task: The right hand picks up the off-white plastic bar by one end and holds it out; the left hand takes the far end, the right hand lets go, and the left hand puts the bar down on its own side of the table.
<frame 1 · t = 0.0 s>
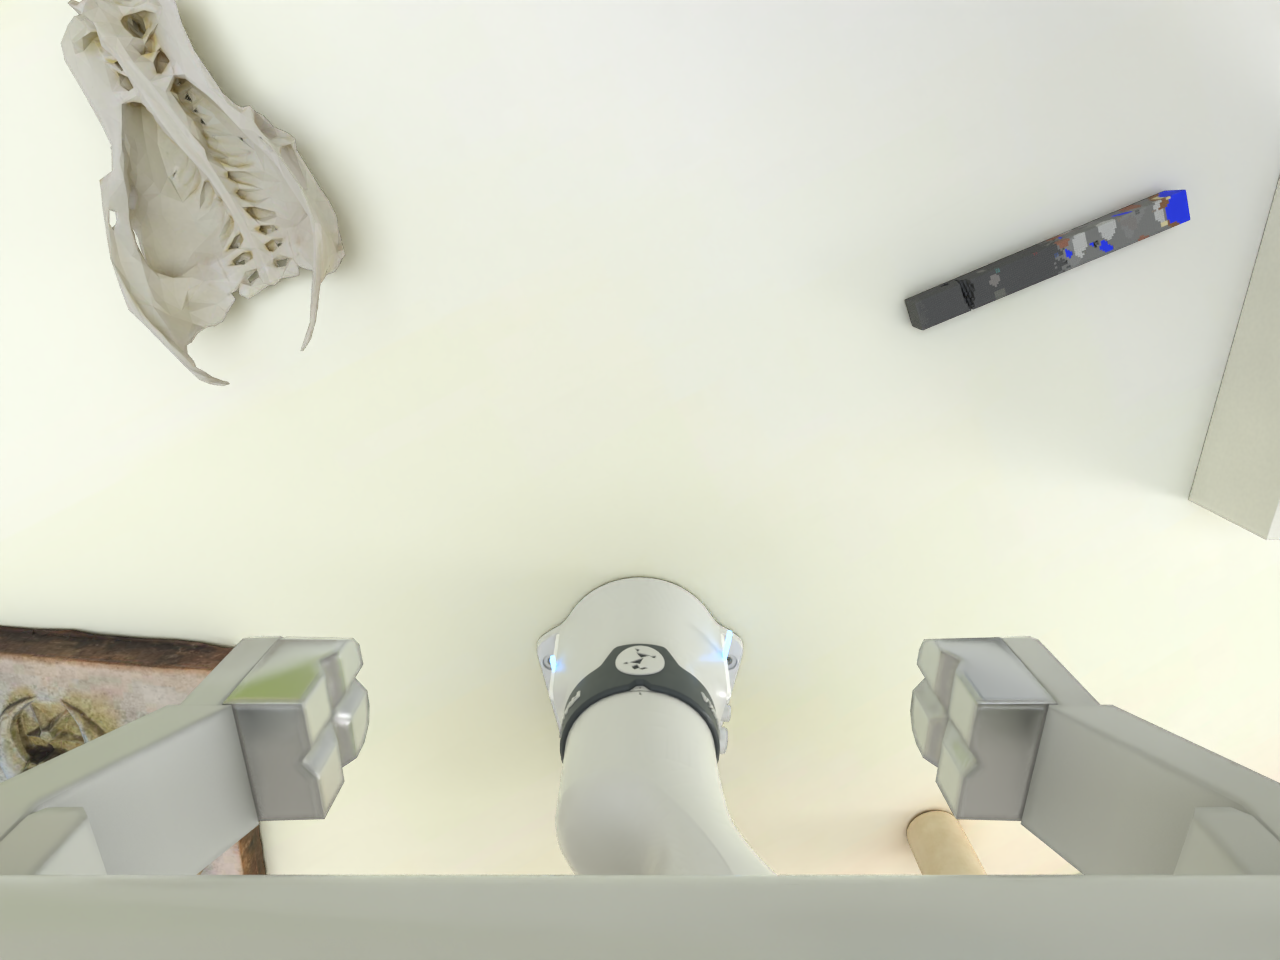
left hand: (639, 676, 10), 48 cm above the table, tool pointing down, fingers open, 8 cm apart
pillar: (1035, 259, 54), on the table
anatomical model: (231, 188, 53), on the table
plaque: (100, 759, 71), on the table
bar: (1263, 344, 57), on the table
candle: (932, 829, 74), on the table
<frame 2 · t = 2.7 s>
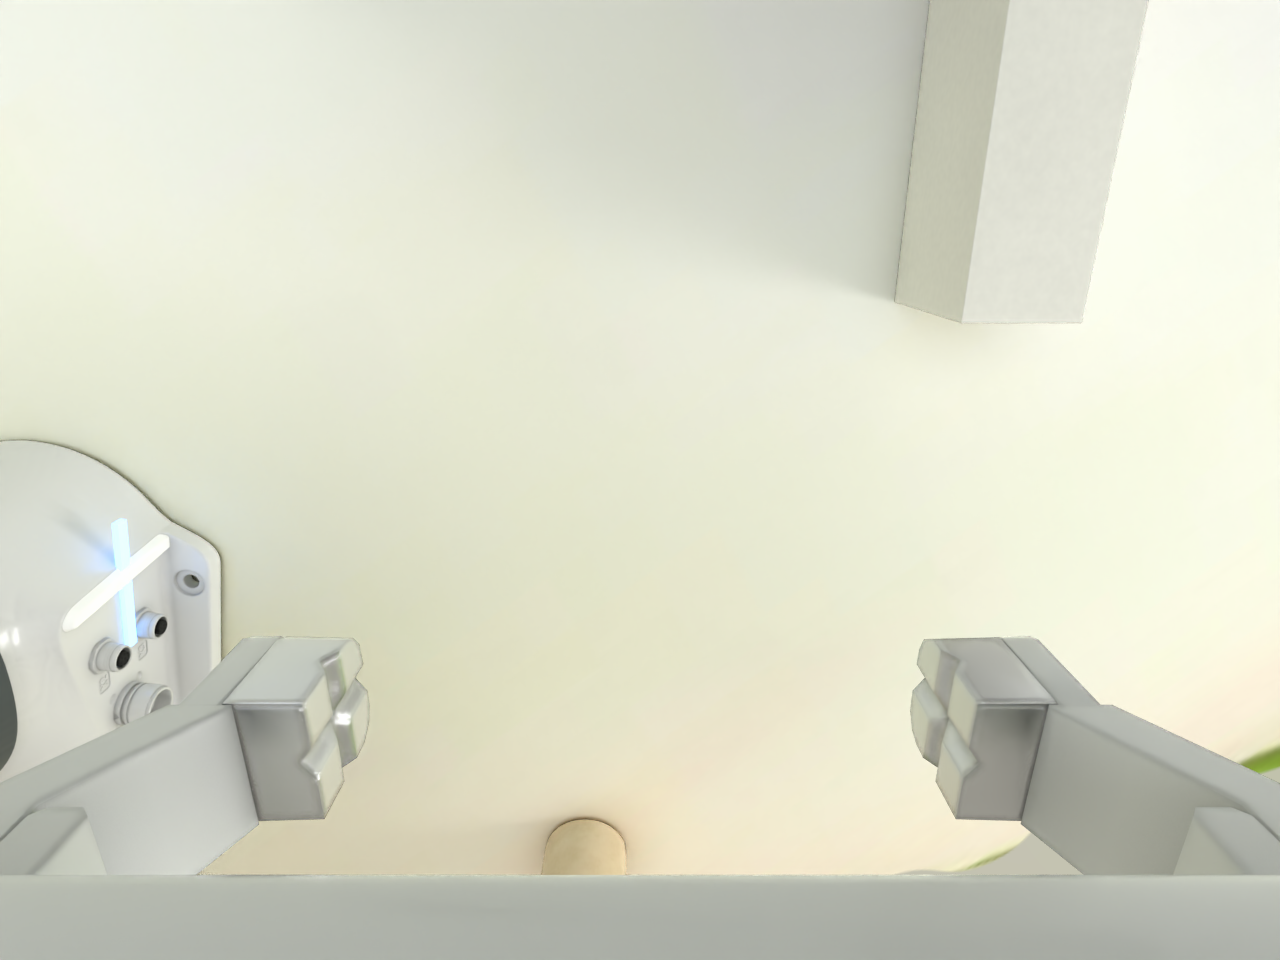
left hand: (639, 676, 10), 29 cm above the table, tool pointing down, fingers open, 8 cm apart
bar: (984, 0, 32), on the table, touching right hand
candle: (586, 846, 49), on the table
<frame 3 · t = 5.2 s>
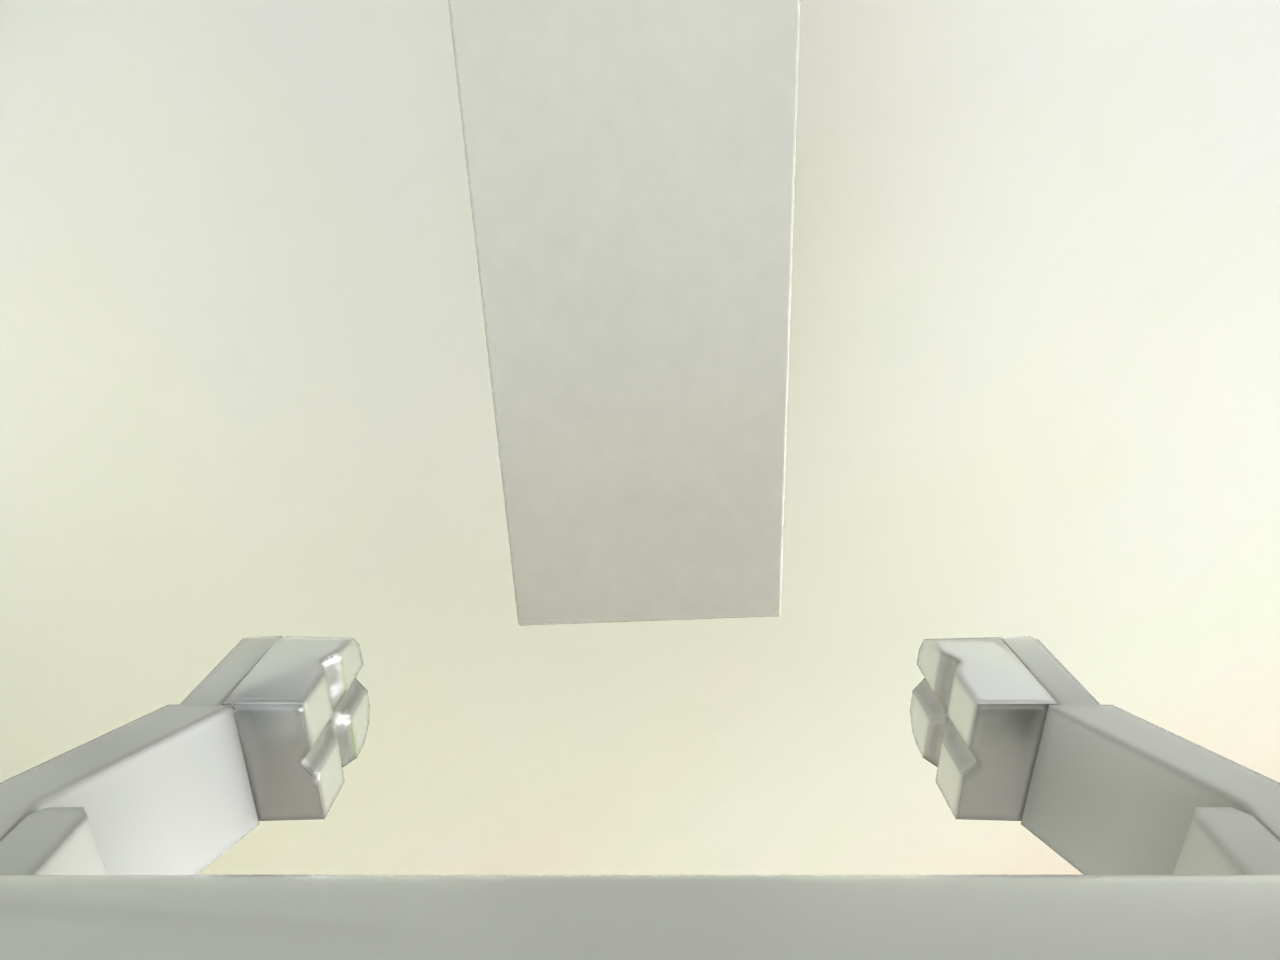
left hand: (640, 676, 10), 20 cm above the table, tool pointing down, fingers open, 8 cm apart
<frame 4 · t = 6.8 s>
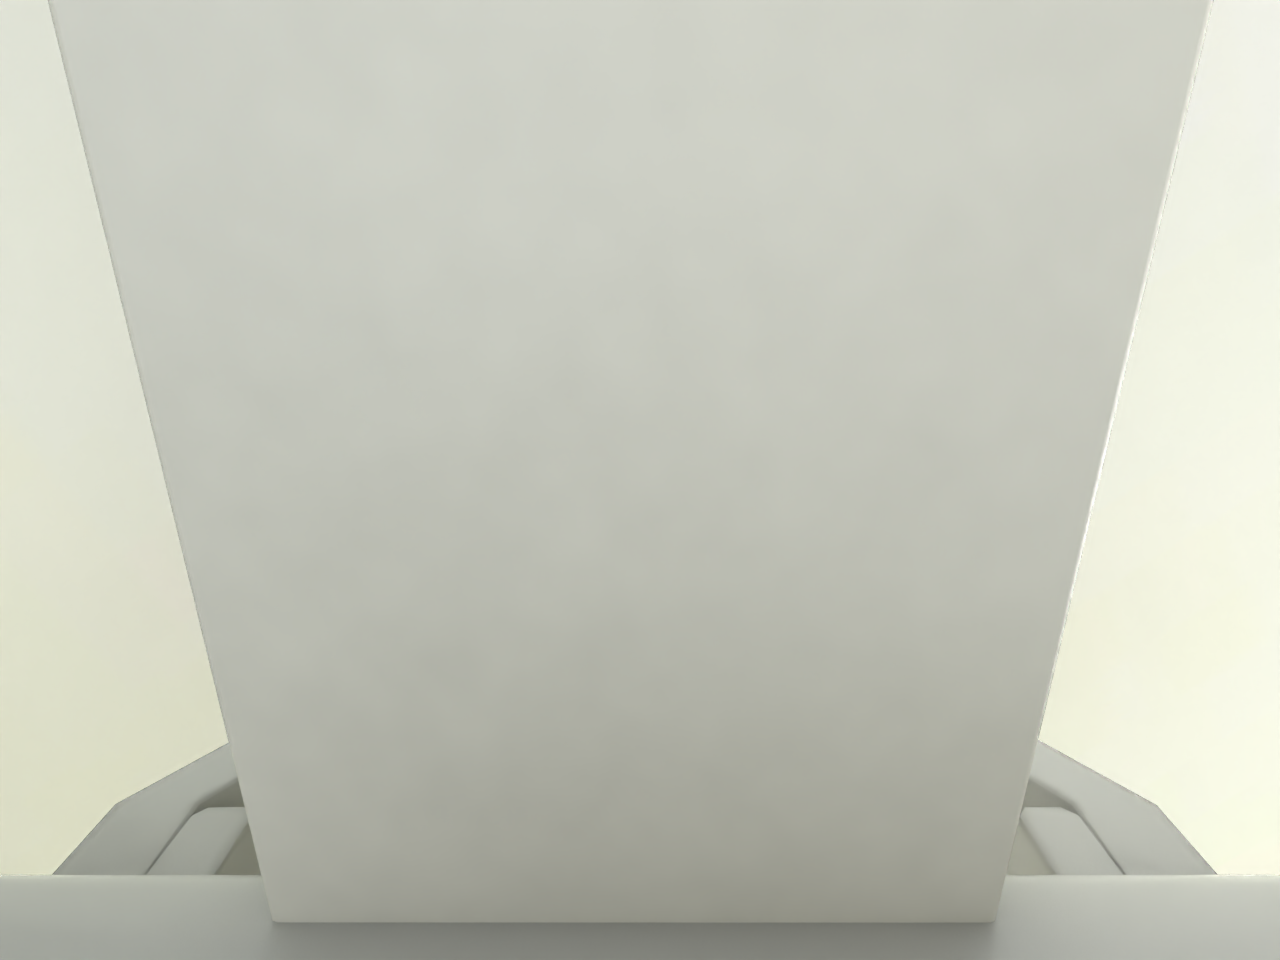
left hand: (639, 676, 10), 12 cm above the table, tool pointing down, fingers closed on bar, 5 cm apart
when the right hand's fingers open (10 cm above the table, at t = 7.8 s): bar stays where it is, held by the left hand.
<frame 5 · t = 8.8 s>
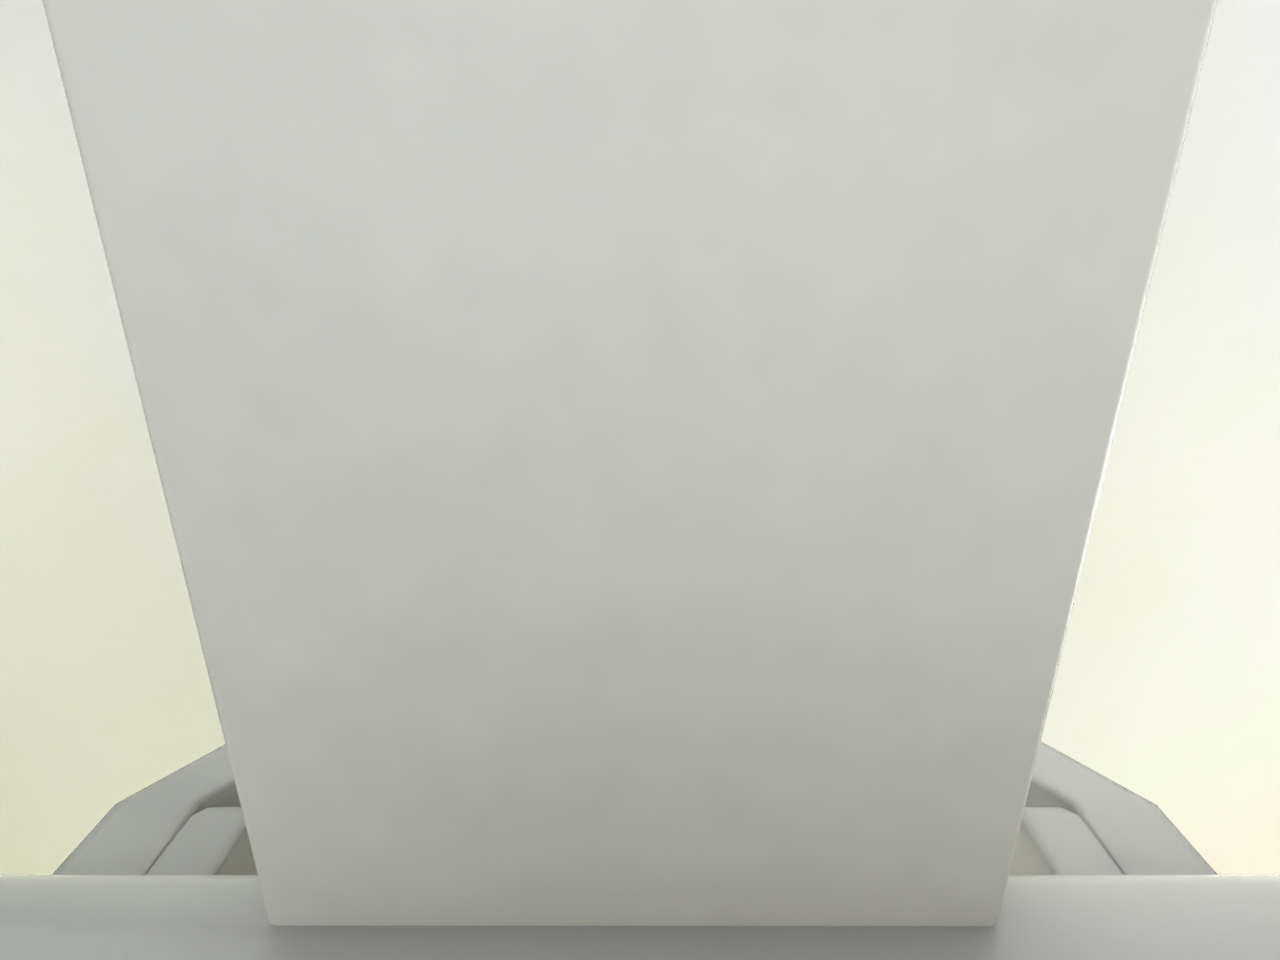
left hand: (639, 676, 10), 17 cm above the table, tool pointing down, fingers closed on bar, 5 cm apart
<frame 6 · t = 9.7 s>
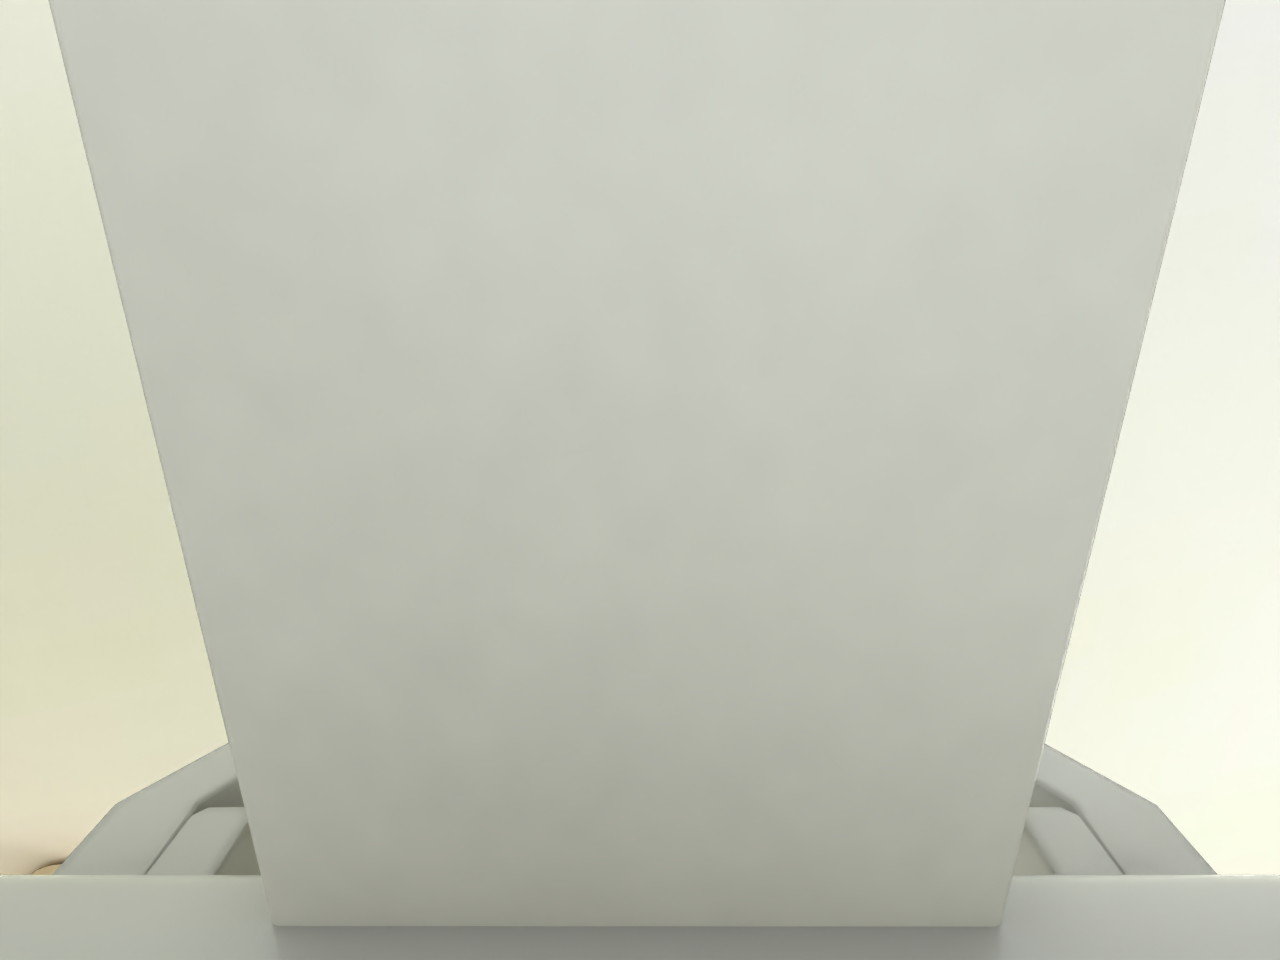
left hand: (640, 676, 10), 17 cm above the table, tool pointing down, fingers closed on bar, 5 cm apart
when the left hand's fingers open (4 cm above the table, at t = 12.7 s): bar stays where it is, on the table.
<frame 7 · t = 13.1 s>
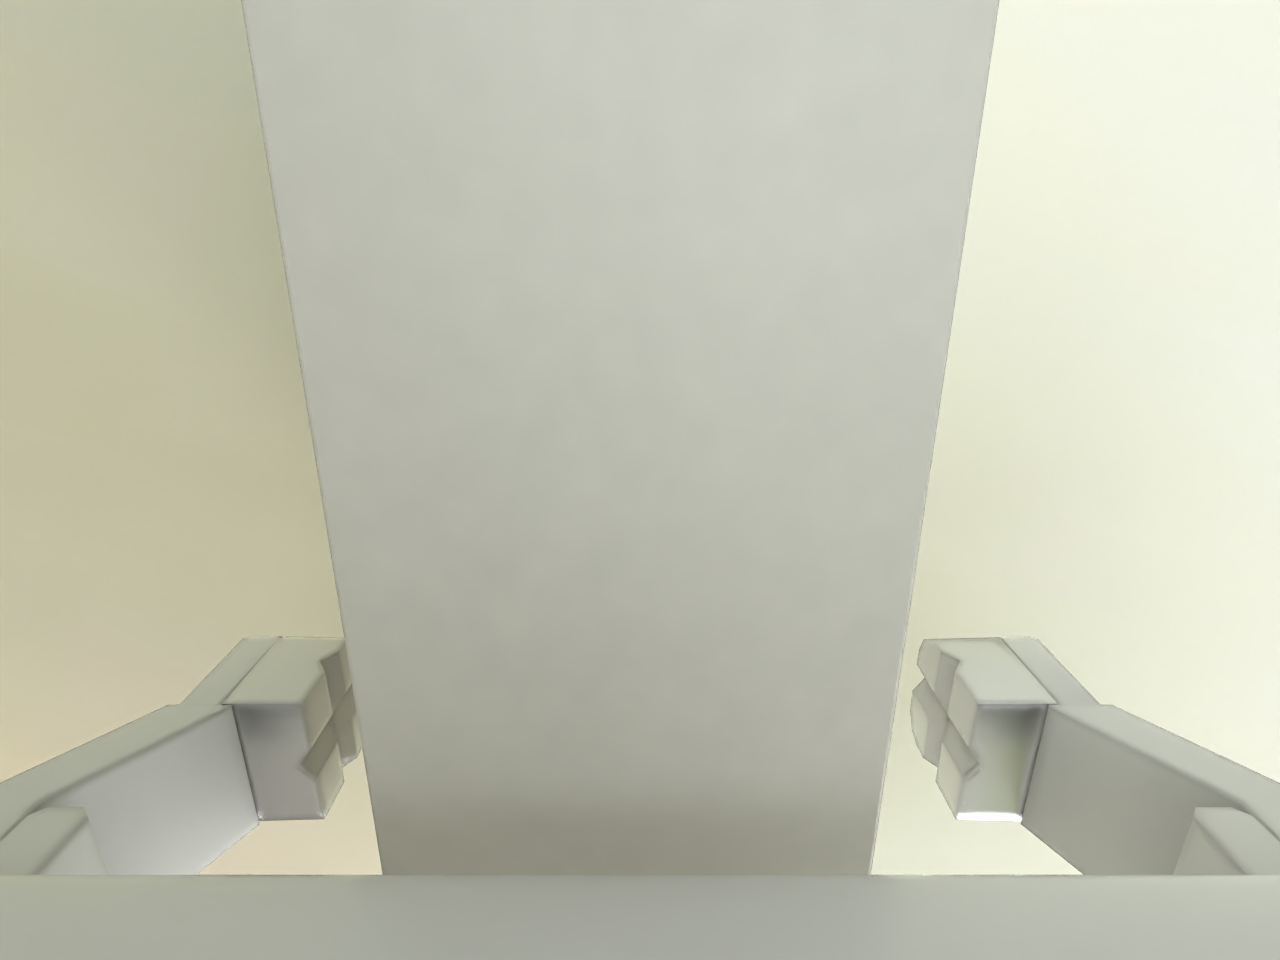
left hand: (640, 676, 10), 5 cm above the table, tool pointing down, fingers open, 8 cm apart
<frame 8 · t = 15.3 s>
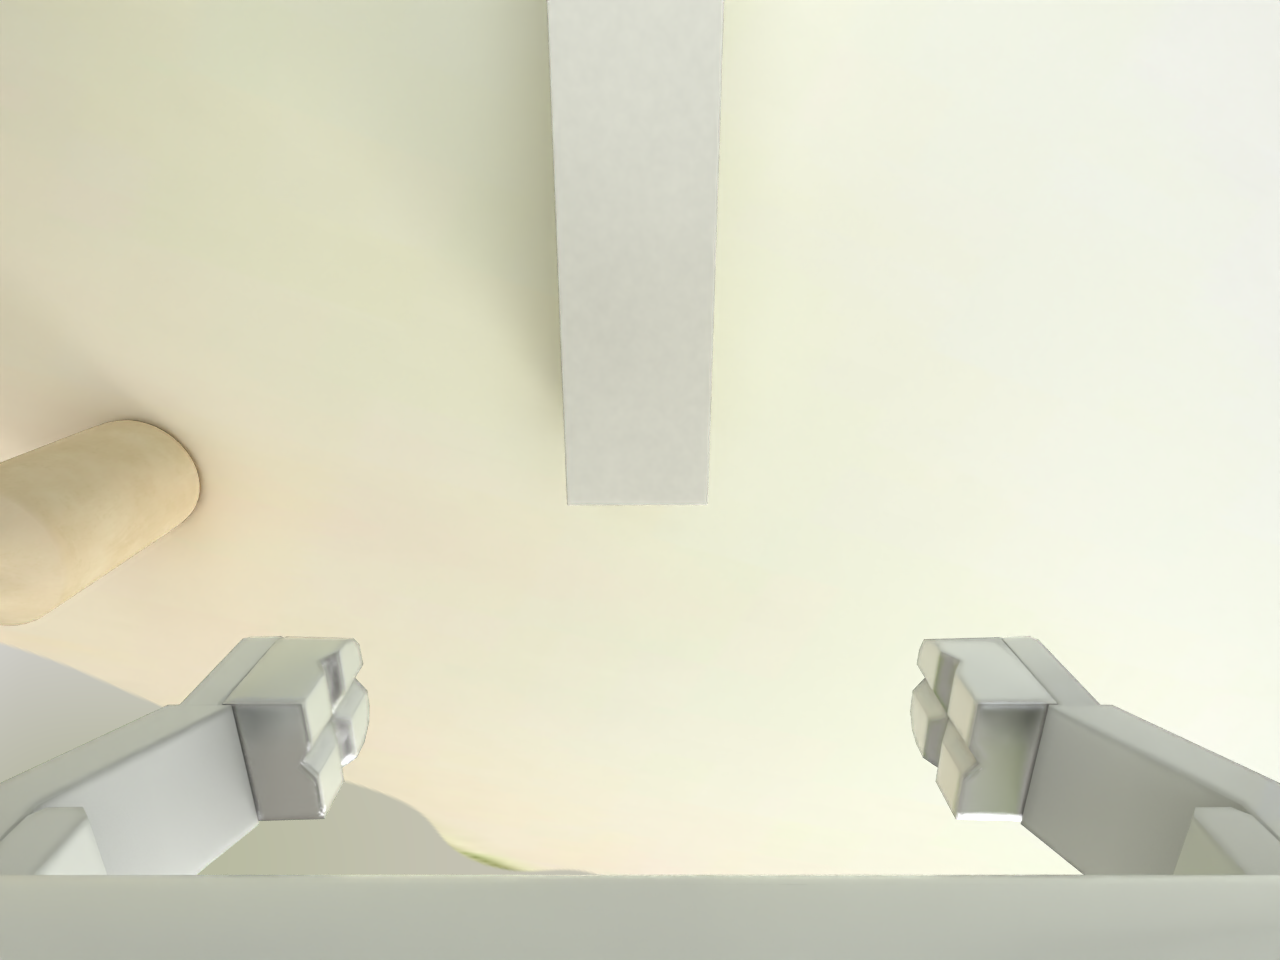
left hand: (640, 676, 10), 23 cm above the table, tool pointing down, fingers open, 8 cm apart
bar: (636, 116, 28), on the table
candle: (144, 474, 33), on the table
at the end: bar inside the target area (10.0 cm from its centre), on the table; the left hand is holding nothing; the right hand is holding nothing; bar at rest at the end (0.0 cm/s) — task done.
